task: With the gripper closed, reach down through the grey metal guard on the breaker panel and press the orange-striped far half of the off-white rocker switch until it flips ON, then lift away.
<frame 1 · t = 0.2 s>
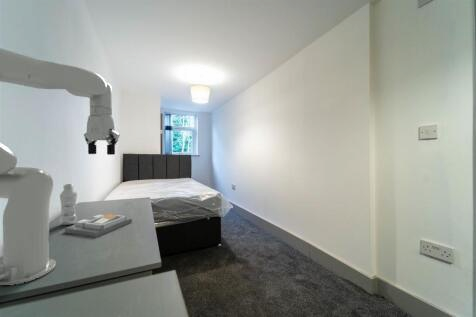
hand: (101, 154, 84), 36 cm above the table, tool pointing down, fingers open, 9 cm apart
plastic bottle: (68, 224, 101), on the table
breaker panel: (100, 226, 99), on the table
breaker switch: (105, 219, 98), point 4 cm above the table, hinge at -12.0°
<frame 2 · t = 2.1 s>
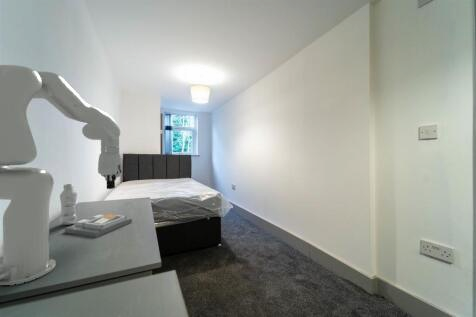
hand: (110, 188, 99), 19 cm above the table, tool pointing down, fingers closed
nothing on the table moved.
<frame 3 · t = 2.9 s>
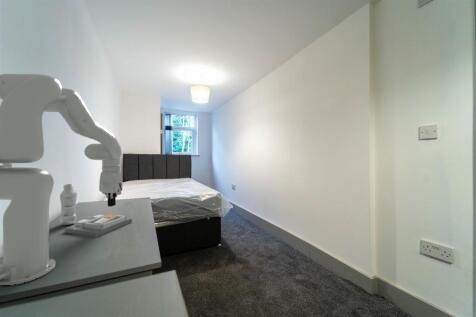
hand: (111, 205, 101), 10 cm above the table, tool pointing down, fingers closed
nothing on the table moved.
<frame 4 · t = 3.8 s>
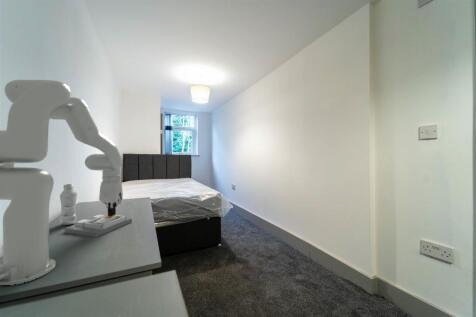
hand: (111, 215, 101), 5 cm above the table, tool pointing down, fingers closed
breaker switch: (105, 219, 98), point 4 cm above the table, hinge at -9.9°, touching gripper
everything else where it was.
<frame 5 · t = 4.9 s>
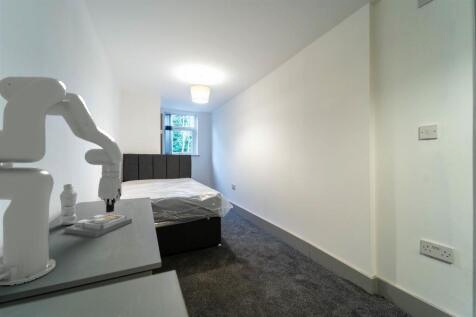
hand: (110, 211, 100), 7 cm above the table, tool pointing down, fingers closed
breaker switch: (105, 219, 98), point 4 cm above the table, hinge at 4.0°
everything else where it was.
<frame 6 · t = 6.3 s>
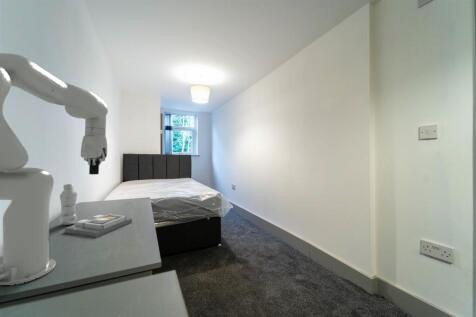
hand: (93, 174, 89), 27 cm above the table, tool pointing down, fingers closed
breaker switch: (105, 219, 98), point 4 cm above the table, hinge at 8.3°
everything else where it was.
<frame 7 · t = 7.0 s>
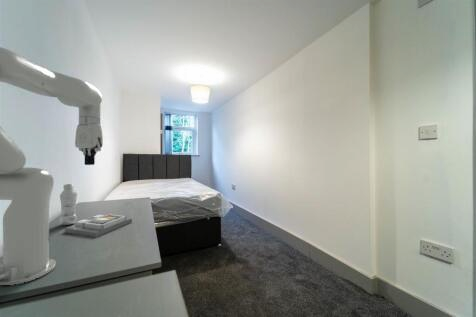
hand: (89, 164, 87), 31 cm above the table, tool pointing down, fingers closed
breaker switch: (105, 219, 98), point 4 cm above the table, hinge at 9.0°
everything else where it was.
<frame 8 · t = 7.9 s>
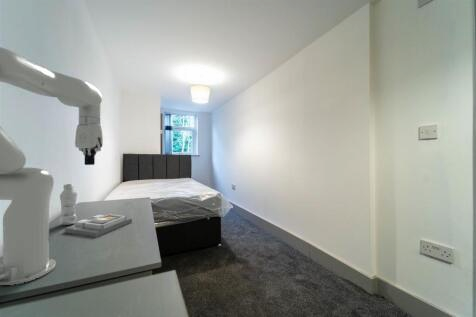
hand: (89, 164, 87), 31 cm above the table, tool pointing down, fingers closed
breaker switch: (105, 219, 98), point 4 cm above the table, hinge at 9.5°
everything else where it was.
at the end: breaker switch at +10° (first picture: -12°); plastic bottle moved 0.2 cm from its start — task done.
